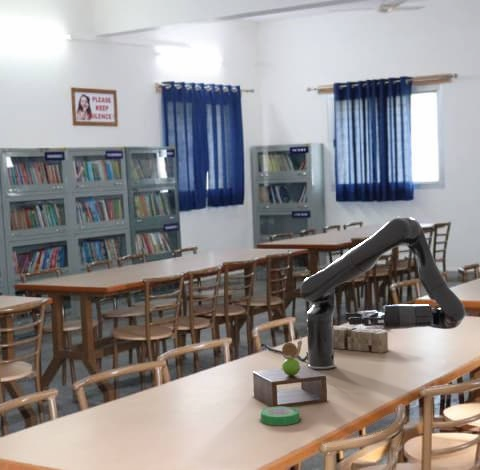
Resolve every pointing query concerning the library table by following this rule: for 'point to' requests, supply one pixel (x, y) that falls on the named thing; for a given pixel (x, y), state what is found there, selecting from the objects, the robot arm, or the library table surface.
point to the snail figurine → (291, 358)
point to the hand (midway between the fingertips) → (347, 318)
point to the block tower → (360, 339)
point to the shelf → (307, 394)
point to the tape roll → (280, 415)
